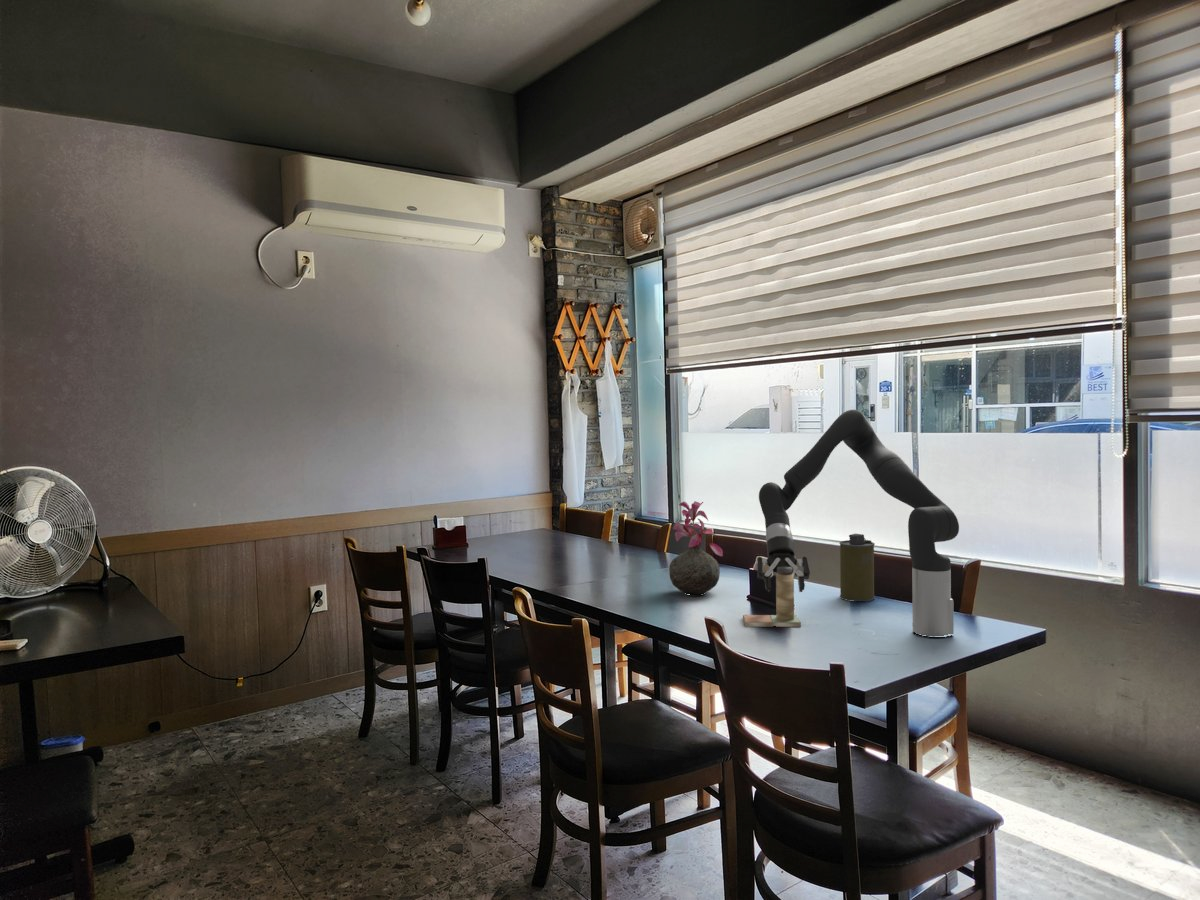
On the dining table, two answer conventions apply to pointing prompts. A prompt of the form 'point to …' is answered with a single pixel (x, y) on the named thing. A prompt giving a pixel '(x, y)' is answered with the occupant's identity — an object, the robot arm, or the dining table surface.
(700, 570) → the vase
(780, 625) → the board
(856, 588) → the canister
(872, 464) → the robot arm
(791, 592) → the pepper mill
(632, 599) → the dining table surface
